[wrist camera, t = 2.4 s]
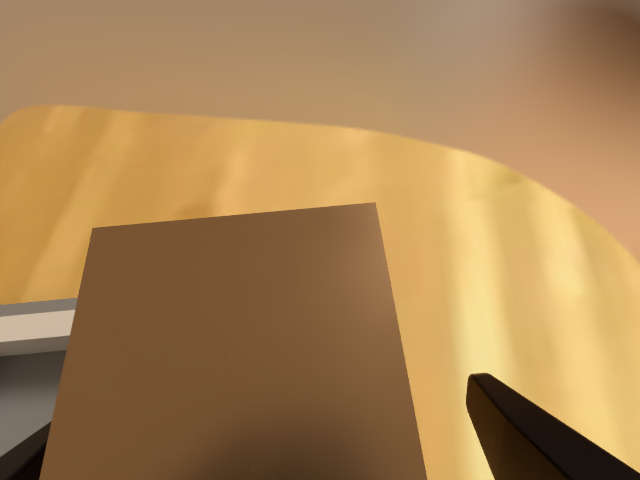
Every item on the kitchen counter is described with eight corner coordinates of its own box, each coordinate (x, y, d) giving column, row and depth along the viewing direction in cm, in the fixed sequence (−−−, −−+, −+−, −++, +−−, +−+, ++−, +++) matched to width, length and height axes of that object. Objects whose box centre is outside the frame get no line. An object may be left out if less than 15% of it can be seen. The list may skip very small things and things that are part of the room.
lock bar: (355, 435, 15) (443, 570, 4) (253, 446, 15) (8, 620, 3) (343, 332, 17) (375, 202, 5) (253, 341, 17) (92, 227, 5)
